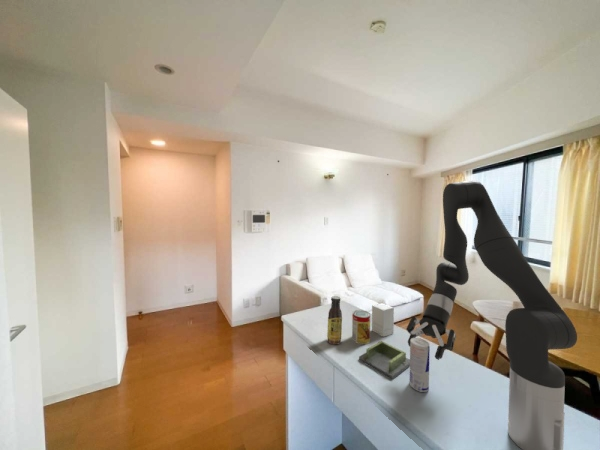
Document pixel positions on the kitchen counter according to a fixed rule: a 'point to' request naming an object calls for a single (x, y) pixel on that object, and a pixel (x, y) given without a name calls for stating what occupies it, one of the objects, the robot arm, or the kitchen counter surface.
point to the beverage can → (419, 364)
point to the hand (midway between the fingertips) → (422, 352)
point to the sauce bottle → (334, 321)
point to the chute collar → (386, 359)
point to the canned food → (361, 326)
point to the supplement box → (382, 319)
